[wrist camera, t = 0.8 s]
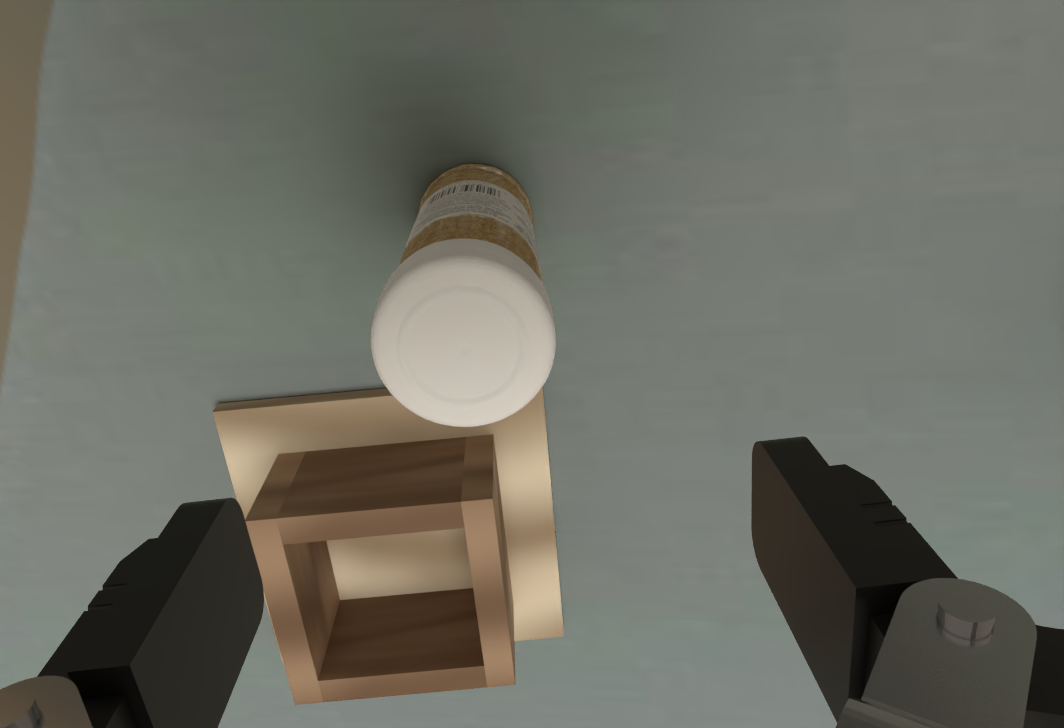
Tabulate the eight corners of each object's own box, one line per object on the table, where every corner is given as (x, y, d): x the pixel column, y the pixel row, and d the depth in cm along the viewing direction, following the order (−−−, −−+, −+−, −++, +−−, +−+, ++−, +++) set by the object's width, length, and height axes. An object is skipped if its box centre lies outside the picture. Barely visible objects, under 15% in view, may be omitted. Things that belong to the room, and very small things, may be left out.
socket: (218, 403, 34) (166, 474, 29) (541, 374, 34) (548, 440, 29) (286, 650, 40) (253, 748, 34) (562, 625, 40) (572, 718, 34)
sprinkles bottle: (412, 263, 32) (357, 419, 20) (427, 149, 30) (377, 243, 18) (523, 282, 32) (537, 446, 20) (545, 171, 31) (575, 276, 18)
